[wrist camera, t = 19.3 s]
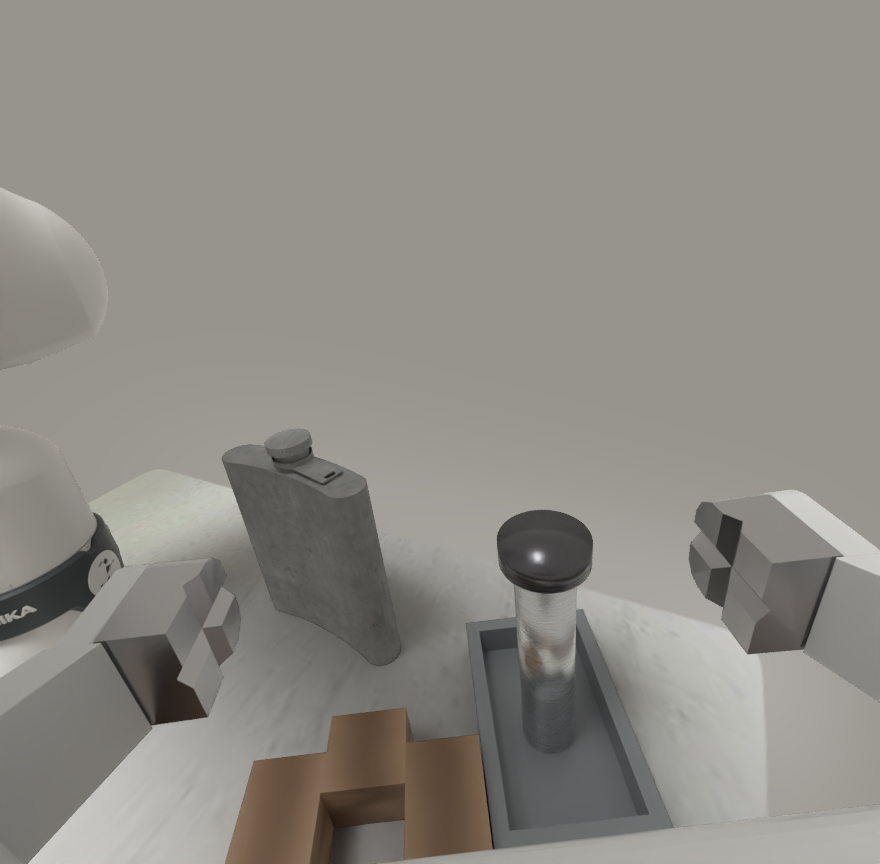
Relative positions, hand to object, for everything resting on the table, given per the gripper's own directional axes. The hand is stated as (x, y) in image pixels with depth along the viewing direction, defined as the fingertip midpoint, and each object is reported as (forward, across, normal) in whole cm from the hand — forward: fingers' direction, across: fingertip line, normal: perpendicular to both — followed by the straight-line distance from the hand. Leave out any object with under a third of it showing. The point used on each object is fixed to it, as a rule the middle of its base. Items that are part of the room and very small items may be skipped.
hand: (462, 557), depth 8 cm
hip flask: (+28, +12, +31) cm, 43 cm away
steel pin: (+14, -5, +30) cm, 33 cm away
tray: (+15, -5, +30) cm, 34 cm away
